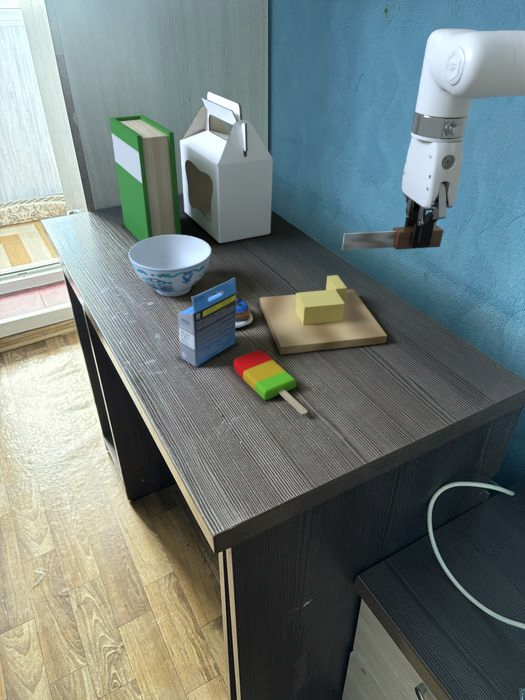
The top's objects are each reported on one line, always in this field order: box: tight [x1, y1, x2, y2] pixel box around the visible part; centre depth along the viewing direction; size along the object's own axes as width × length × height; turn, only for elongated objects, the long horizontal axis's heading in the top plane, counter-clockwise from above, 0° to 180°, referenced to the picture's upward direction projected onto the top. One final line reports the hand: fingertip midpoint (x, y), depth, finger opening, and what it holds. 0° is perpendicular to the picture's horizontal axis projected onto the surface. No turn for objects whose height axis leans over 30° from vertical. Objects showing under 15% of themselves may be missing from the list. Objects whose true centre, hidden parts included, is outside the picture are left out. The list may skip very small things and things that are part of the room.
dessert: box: [235, 297, 254, 329], centre depth 90 cm, size 8×7×6 cm
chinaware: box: [128, 234, 212, 297], centre depth 97 cm, size 15×15×8 cm
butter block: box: [295, 289, 345, 325], centre depth 88 cm, size 7×5×4 cm
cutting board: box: [259, 288, 388, 356], centre depth 90 cm, size 18×16×2 cm
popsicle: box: [233, 350, 308, 416], centre depth 75 cm, size 6×15×2 cm, turn 34°
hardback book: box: [108, 114, 182, 242], centre depth 113 cm, size 18×7×24 cm, turn 30°
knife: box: [341, 224, 444, 251], centre depth 86 cm, size 17×2×3 cm, turn 102°
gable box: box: [179, 91, 274, 244], centre depth 119 cm, size 22×13×28 cm, turn 28°
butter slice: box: [325, 274, 348, 303], centre depth 93 cm, size 2×5×4 cm, turn 12°
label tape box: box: [177, 277, 237, 368], centre depth 79 cm, size 9×4×12 cm, turn 139°
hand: (415, 242), depth 87 cm, fingers closed on knife, 2 cm apart
